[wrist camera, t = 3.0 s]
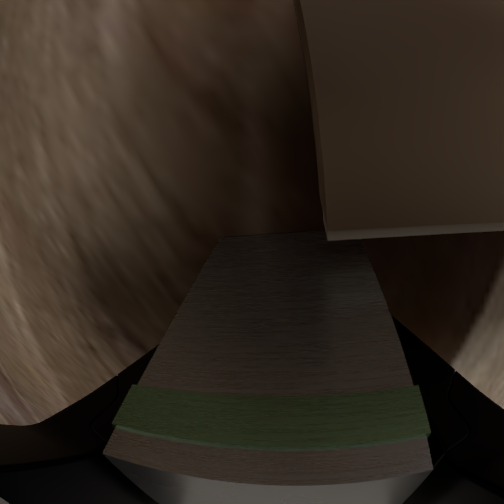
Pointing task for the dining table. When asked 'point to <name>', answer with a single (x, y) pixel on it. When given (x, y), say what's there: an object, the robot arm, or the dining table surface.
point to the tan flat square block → (406, 114)
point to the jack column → (277, 385)
